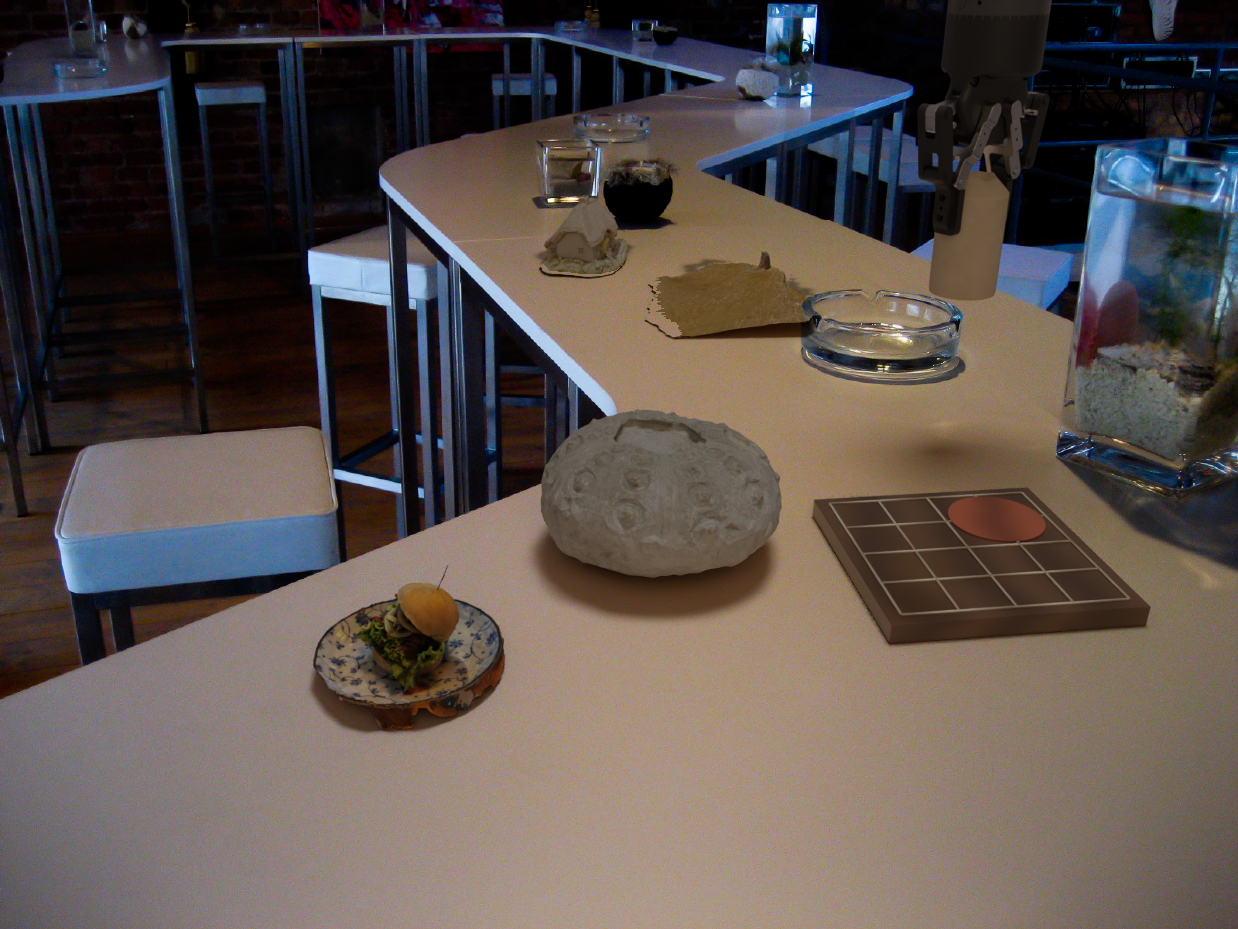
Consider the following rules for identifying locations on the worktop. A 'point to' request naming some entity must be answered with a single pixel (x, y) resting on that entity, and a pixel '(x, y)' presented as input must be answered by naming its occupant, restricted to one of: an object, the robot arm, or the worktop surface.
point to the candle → (972, 243)
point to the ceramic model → (586, 241)
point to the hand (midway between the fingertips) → (970, 227)
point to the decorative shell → (659, 495)
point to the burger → (412, 655)
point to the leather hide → (729, 298)
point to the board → (973, 566)
